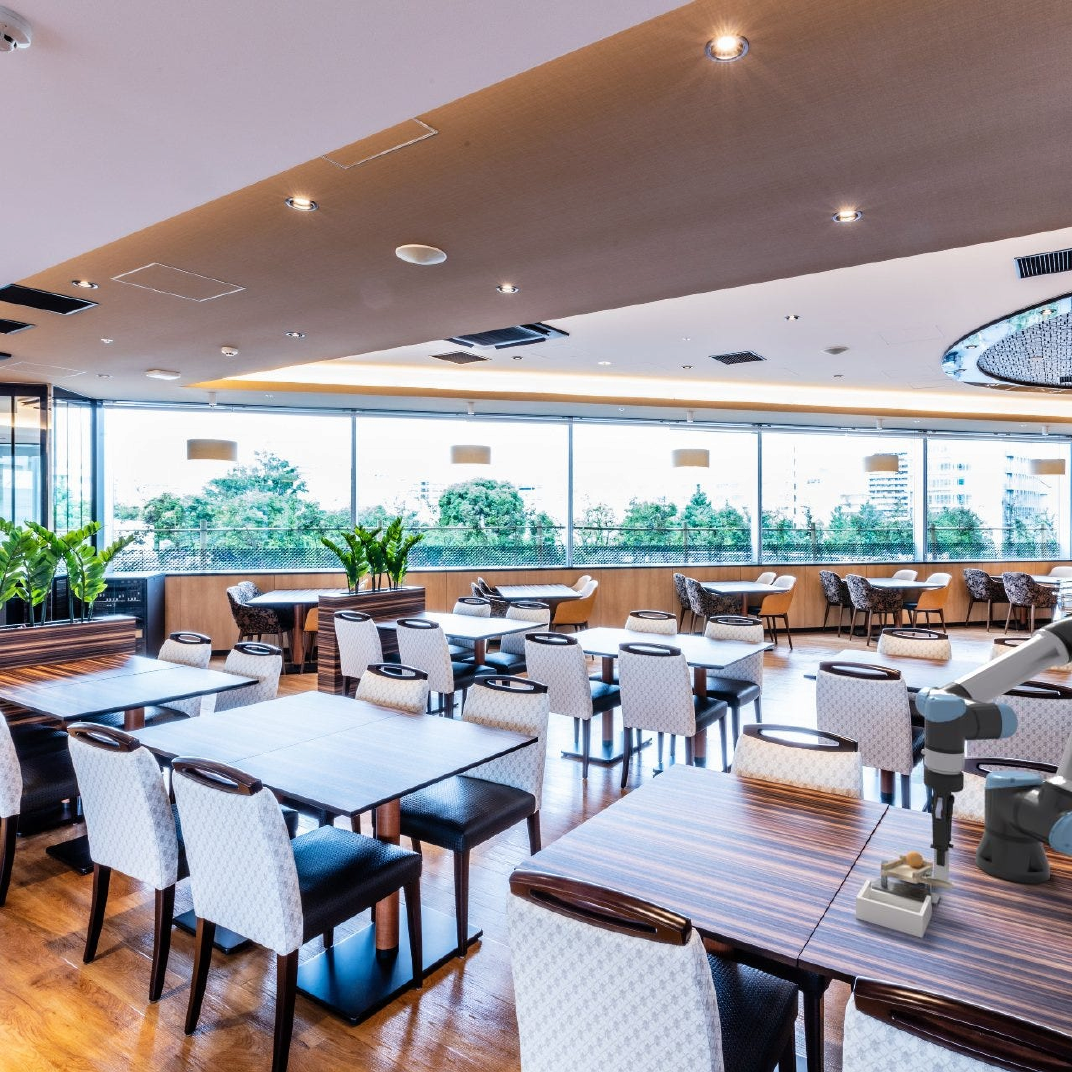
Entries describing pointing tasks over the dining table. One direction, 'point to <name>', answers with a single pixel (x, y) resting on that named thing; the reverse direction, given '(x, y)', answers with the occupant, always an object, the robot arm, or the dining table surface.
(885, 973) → the dining table surface
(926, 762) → the robot arm
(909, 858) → the ball
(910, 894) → the stand
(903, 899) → the dish
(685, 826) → the dining table surface
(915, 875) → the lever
